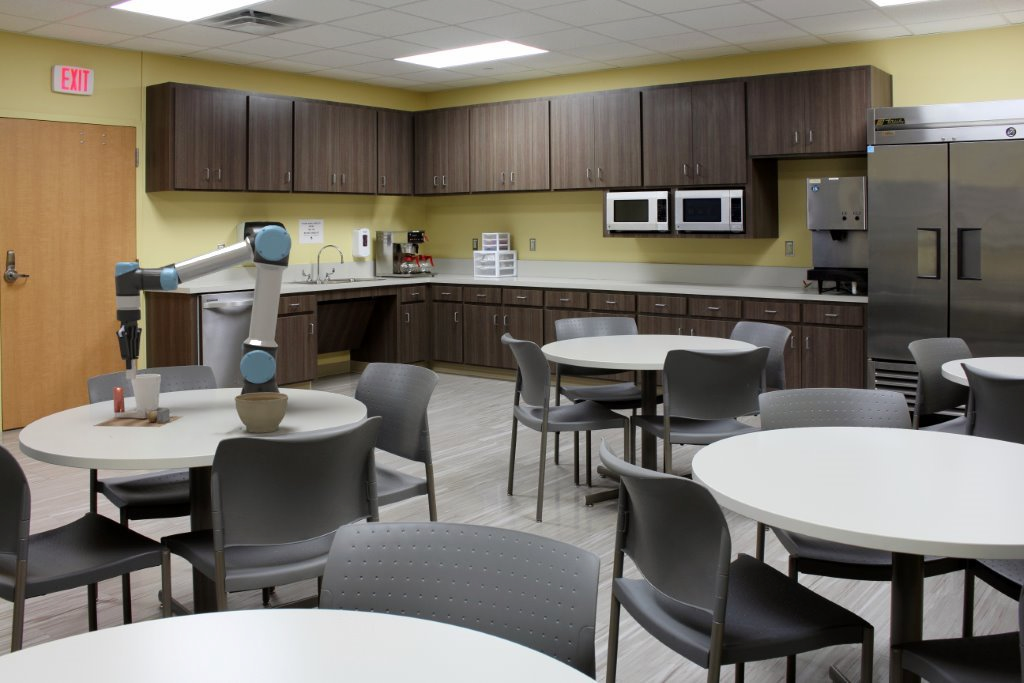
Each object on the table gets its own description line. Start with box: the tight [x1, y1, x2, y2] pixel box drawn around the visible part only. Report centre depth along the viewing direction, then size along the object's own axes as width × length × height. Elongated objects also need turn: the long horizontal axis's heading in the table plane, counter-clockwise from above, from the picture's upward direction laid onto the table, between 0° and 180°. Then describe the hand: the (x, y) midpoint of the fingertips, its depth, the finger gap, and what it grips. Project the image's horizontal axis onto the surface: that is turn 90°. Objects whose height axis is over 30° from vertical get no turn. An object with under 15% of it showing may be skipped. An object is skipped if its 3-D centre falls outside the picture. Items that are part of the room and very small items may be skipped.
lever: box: [112, 386, 157, 418], centre depth 310 cm, size 18×5×10 cm, turn 84°
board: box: [93, 407, 183, 428], centre depth 306 cm, size 22×17×5 cm
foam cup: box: [130, 373, 162, 411], centre depth 328 cm, size 10×9×13 cm
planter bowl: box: [234, 392, 289, 434], centre depth 297 cm, size 16×16×11 cm
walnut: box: [147, 410, 157, 422], centre depth 304 cm, size 4×4×4 cm
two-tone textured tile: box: [156, 408, 171, 424], centre depth 303 cm, size 2×4×4 cm, turn 174°
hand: (131, 378), depth 317 cm, fingers closed
